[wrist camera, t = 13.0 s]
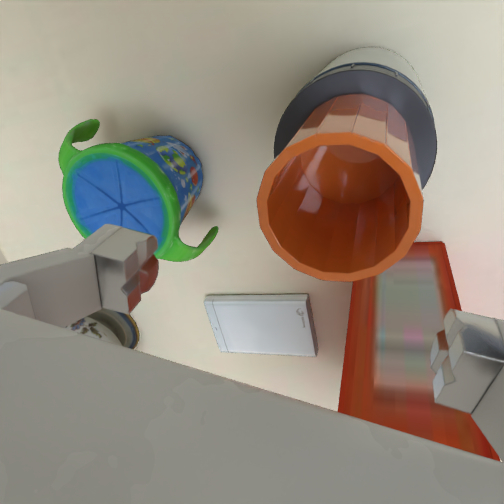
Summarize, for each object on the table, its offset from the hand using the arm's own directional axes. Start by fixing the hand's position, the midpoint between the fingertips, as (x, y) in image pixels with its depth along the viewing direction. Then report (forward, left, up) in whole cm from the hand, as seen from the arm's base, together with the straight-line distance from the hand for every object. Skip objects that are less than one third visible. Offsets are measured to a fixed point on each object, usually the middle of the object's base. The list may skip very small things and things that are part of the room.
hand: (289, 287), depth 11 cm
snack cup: (-9, -17, -27) cm, 33 cm away
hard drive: (+10, -25, -27) cm, 38 cm away
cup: (+1, 0, -14) cm, 14 cm away
